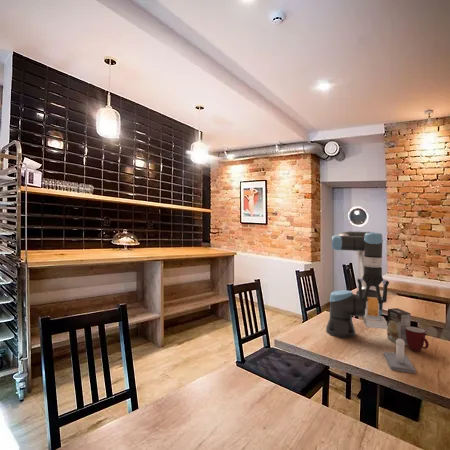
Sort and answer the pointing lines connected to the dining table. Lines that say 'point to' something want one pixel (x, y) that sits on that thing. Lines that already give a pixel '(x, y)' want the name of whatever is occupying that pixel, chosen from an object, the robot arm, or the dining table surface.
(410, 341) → the mug
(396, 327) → the coffee box
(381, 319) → the tray with orange handle
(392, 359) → the keeper board
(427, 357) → the dining table surface
